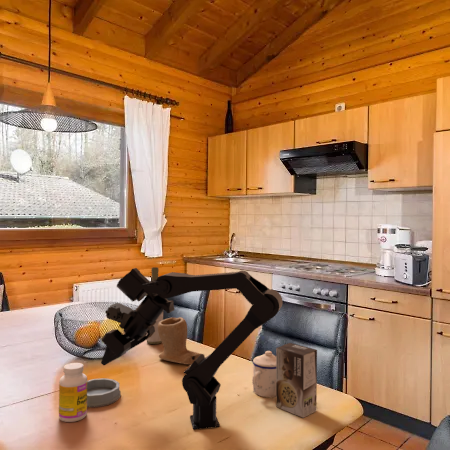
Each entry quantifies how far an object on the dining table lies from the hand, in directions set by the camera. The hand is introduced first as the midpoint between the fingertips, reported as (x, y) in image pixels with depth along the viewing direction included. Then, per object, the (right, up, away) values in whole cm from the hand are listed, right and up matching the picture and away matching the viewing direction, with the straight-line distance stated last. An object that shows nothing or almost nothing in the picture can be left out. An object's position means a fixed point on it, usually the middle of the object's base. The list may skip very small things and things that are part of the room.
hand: (112, 358), depth 109 cm
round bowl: (-6, -13, +8) cm, 17 cm away
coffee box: (+48, -14, +2) cm, 50 cm away
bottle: (+1, -13, +58) cm, 60 cm away
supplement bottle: (-9, -14, -4) cm, 17 cm away
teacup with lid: (+41, -14, +12) cm, 45 cm away
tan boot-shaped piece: (+13, -13, +37) cm, 42 cm away
